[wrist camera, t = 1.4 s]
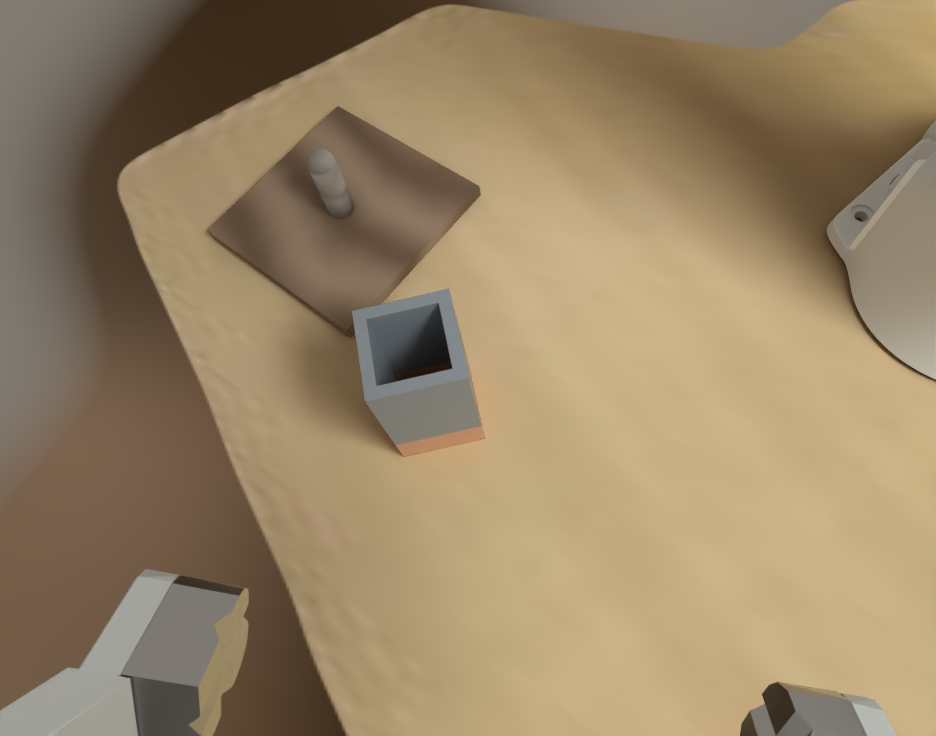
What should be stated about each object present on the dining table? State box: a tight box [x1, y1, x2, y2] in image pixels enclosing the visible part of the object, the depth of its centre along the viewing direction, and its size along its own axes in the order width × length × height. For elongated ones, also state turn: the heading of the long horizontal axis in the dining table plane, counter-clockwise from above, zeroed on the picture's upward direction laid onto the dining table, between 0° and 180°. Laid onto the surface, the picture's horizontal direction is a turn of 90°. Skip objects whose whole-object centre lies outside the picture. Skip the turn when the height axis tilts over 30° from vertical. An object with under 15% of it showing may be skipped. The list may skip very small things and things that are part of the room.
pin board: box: [207, 106, 480, 337], centre depth 48 cm, size 15×15×7 cm
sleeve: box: [352, 289, 485, 457], centre depth 39 cm, size 5×5×10 cm
